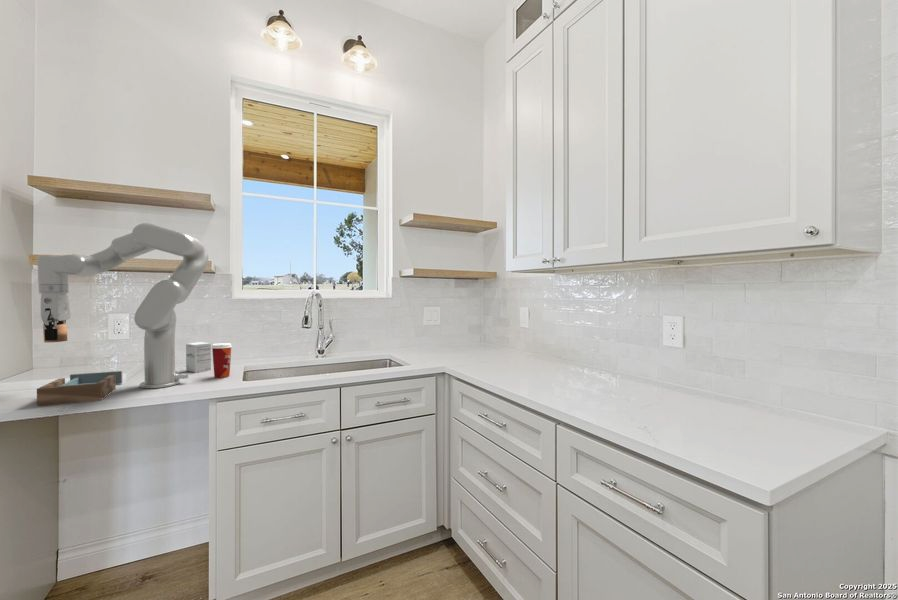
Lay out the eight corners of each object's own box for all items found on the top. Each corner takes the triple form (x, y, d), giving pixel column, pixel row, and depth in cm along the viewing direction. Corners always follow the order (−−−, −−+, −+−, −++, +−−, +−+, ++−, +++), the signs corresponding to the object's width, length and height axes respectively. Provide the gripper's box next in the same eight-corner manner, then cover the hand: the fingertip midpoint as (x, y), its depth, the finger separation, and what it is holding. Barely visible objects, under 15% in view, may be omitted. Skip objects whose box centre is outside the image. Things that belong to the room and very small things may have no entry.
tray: (71, 386, 145) (71, 374, 145) (122, 383, 152) (122, 370, 152) (53, 396, 132) (52, 383, 132) (109, 392, 139) (109, 378, 139)
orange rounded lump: (70, 339, 144) (69, 323, 144) (63, 341, 139) (62, 325, 138) (48, 340, 141) (47, 324, 141) (40, 342, 136) (39, 325, 136)
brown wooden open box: (59, 394, 137) (58, 378, 136) (115, 389, 144) (115, 374, 143) (37, 406, 123) (36, 388, 123) (100, 400, 130) (100, 383, 130)
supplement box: (185, 371, 176) (185, 343, 176) (202, 368, 183) (202, 341, 182) (194, 372, 173) (194, 344, 172) (211, 369, 179) (211, 342, 179)
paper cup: (231, 377, 164) (231, 344, 164) (210, 379, 161) (210, 345, 161) (232, 373, 171) (232, 342, 171) (212, 375, 168) (212, 343, 168)
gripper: (56, 289, 133) (58, 341, 134) (77, 289, 149) (79, 335, 149) (26, 289, 130) (29, 342, 130) (51, 289, 145) (53, 337, 146)
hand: (55, 338), depth 140 cm, fingers closed on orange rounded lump, 6 cm apart
